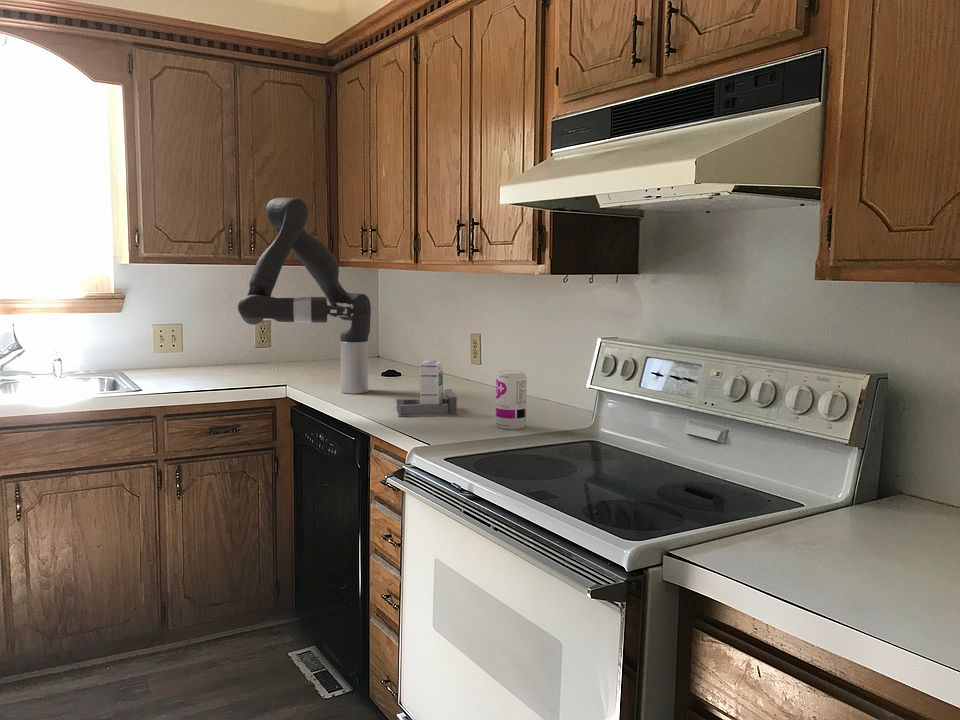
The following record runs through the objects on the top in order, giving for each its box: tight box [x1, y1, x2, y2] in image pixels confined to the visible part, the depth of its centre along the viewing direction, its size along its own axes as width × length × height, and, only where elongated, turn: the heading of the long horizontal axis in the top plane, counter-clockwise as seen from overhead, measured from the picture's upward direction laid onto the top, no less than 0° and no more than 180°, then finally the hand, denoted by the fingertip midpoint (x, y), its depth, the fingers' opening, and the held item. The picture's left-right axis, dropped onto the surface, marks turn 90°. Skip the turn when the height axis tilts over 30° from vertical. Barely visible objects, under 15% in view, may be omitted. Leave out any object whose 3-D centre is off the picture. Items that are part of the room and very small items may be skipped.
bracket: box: [395, 388, 458, 418], centre depth 240 cm, size 14×17×6 cm
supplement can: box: [495, 369, 528, 431], centre depth 219 cm, size 8×8×15 cm
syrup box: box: [419, 360, 444, 404], centre depth 239 cm, size 6×6×14 cm
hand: (366, 309), depth 238 cm, fingers open, 8 cm apart
